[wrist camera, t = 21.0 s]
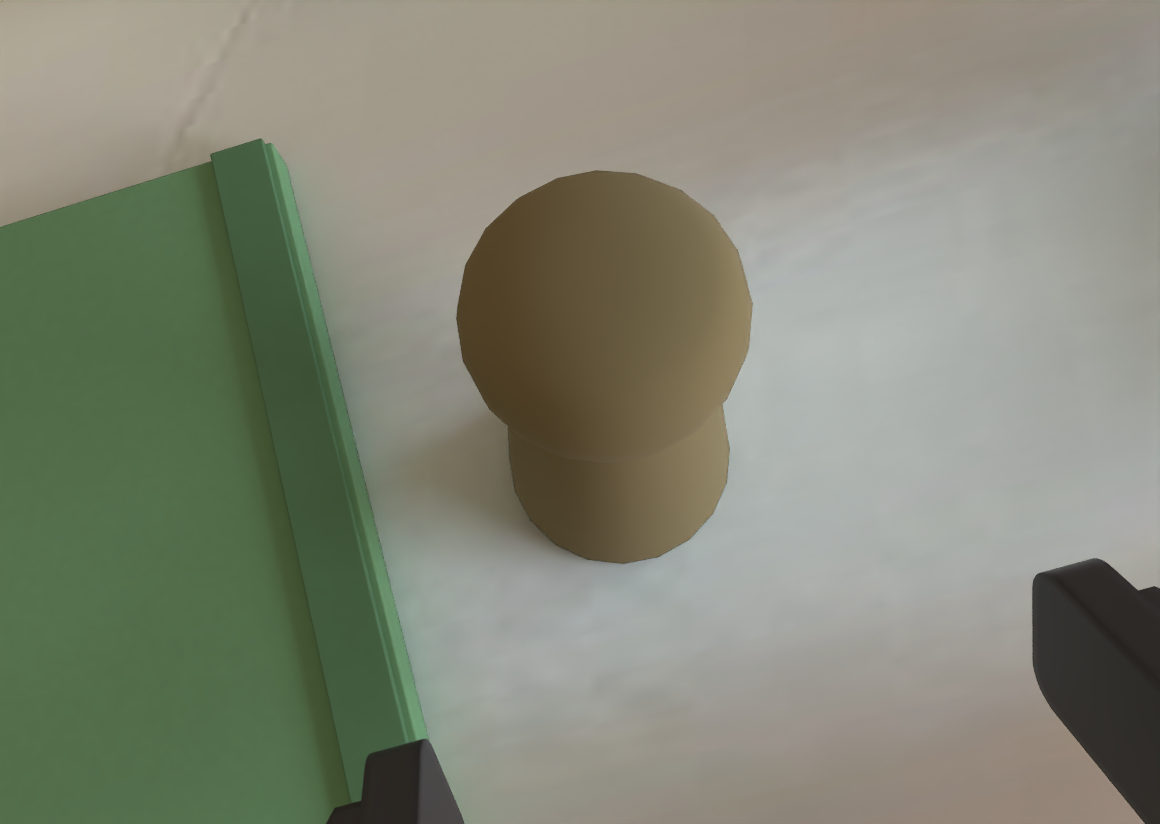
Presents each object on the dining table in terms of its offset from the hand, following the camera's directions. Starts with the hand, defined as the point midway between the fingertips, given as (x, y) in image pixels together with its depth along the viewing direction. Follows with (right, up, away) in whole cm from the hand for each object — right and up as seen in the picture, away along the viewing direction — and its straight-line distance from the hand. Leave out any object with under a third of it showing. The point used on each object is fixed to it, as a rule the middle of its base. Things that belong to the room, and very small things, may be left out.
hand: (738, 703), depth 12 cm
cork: (-1, +3, +13) cm, 14 cm away
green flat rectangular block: (-14, -1, +13) cm, 19 cm away
